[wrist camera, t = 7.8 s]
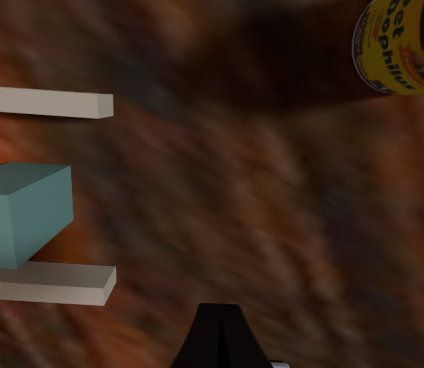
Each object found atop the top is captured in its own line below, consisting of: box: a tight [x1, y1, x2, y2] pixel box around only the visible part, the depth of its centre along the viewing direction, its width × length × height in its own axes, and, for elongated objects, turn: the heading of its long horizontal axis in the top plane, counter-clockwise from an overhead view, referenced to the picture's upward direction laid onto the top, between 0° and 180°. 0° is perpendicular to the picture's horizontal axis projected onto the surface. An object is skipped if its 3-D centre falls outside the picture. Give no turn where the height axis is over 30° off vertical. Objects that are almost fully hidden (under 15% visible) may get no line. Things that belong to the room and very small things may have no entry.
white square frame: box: [0, 87, 116, 306], centre depth 18 cm, size 12×12×2 cm
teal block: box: [0, 162, 73, 269], centre depth 17 cm, size 4×4×6 cm
